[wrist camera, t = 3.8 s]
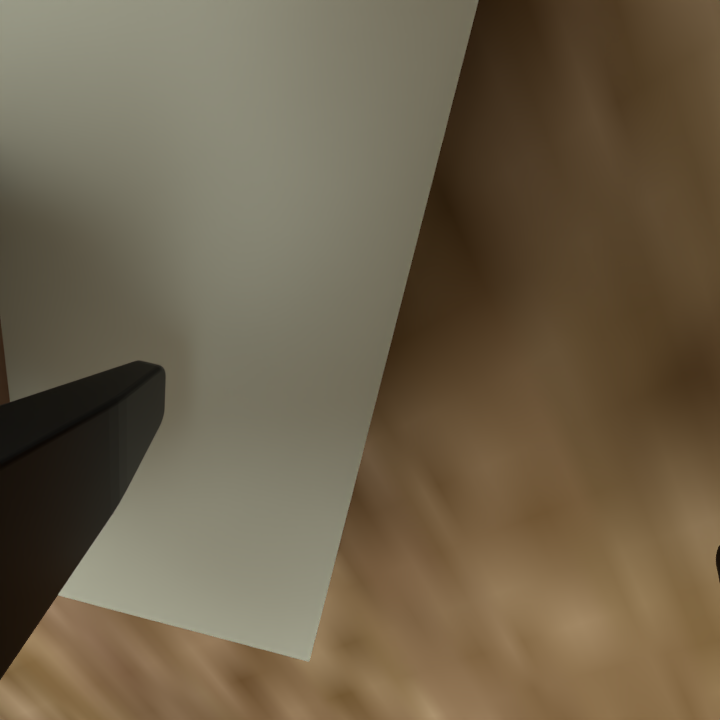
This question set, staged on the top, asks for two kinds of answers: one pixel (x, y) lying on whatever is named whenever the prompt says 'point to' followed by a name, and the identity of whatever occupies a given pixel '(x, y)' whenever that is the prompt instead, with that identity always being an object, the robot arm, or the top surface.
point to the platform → (221, 269)
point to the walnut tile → (3, 373)
